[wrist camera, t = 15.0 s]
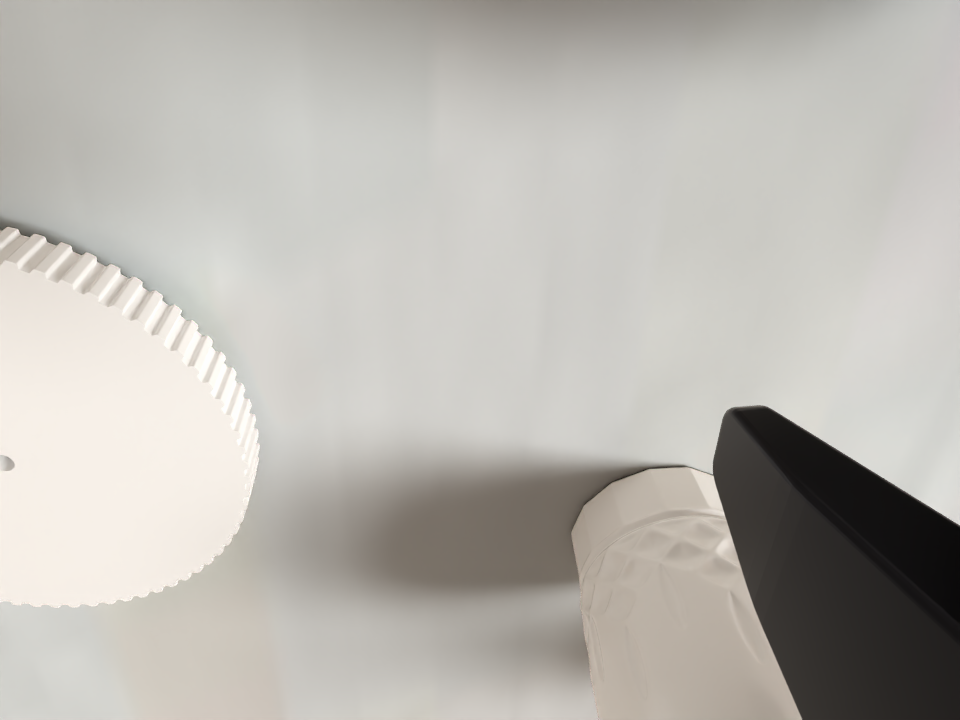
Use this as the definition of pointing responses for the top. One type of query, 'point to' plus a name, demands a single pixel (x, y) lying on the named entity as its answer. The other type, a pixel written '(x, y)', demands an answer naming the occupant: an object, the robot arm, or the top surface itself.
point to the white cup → (671, 606)
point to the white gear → (110, 434)
